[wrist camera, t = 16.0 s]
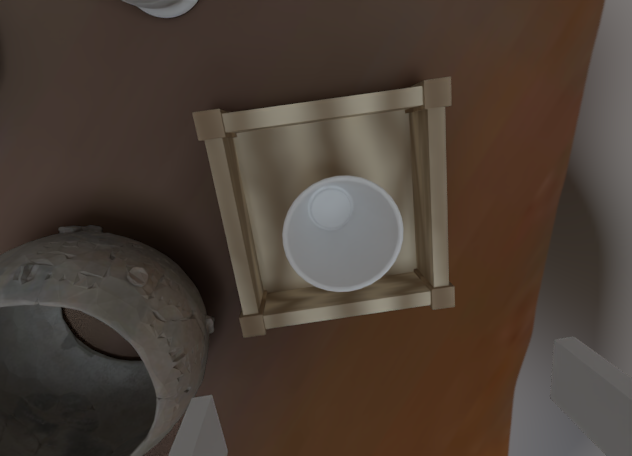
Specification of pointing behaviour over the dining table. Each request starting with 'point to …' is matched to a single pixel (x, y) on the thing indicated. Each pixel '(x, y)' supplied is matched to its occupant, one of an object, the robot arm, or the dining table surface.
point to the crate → (324, 162)
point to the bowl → (86, 364)
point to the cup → (342, 233)
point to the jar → (163, 7)
